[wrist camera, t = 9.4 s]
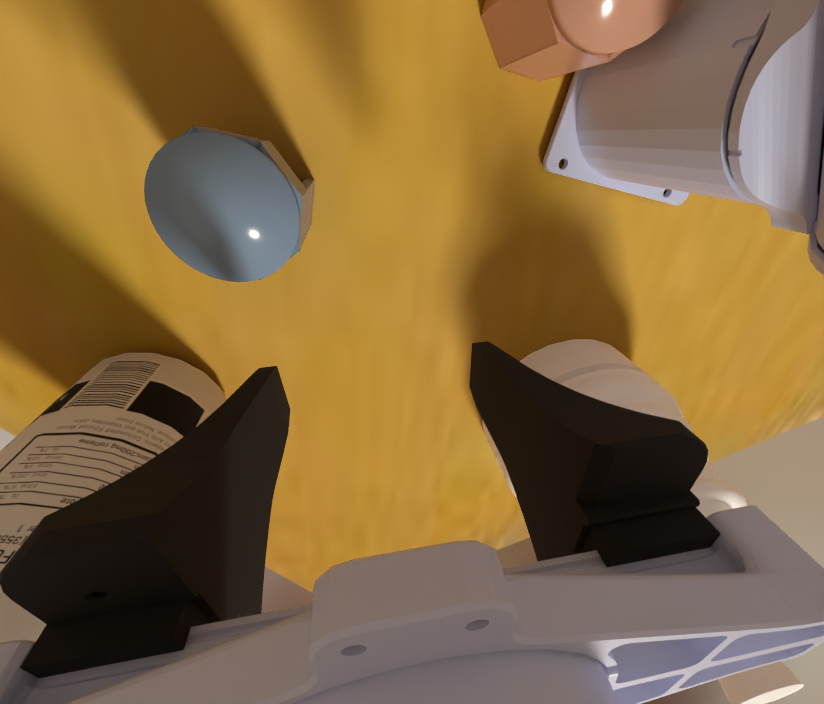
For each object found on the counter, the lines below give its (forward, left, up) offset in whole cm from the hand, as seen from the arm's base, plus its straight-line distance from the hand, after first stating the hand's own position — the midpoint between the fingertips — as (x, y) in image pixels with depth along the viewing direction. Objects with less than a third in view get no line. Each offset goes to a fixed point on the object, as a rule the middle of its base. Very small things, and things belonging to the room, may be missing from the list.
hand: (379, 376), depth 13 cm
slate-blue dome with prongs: (+6, -4, -9) cm, 12 cm away
